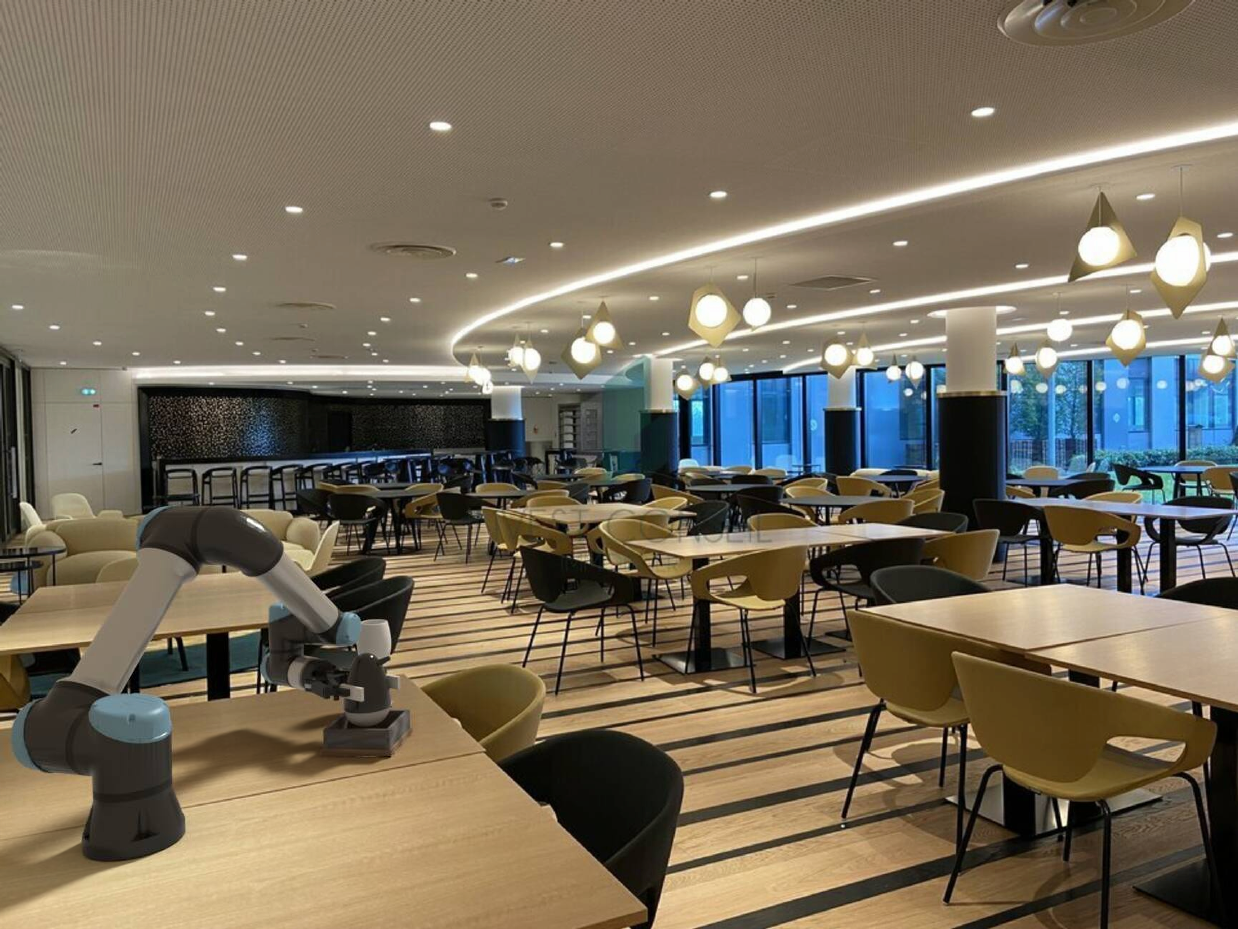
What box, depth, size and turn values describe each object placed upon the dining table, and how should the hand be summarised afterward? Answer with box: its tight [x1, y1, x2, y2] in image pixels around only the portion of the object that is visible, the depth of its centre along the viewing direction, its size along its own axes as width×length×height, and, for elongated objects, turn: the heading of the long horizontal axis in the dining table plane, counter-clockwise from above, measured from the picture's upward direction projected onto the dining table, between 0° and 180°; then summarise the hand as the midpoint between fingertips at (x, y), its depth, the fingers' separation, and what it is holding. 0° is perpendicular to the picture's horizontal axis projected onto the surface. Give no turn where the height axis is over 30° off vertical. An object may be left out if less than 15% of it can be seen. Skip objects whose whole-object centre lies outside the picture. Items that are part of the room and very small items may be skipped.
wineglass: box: [356, 618, 392, 659], centre depth 222 cm, size 9×9×21 cm
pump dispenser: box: [342, 653, 393, 726], centre depth 194 cm, size 10×10×15 cm
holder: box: [320, 709, 414, 757], centre depth 194 cm, size 15×15×6 cm
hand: (381, 688), depth 191 cm, fingers closed on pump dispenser, 9 cm apart
